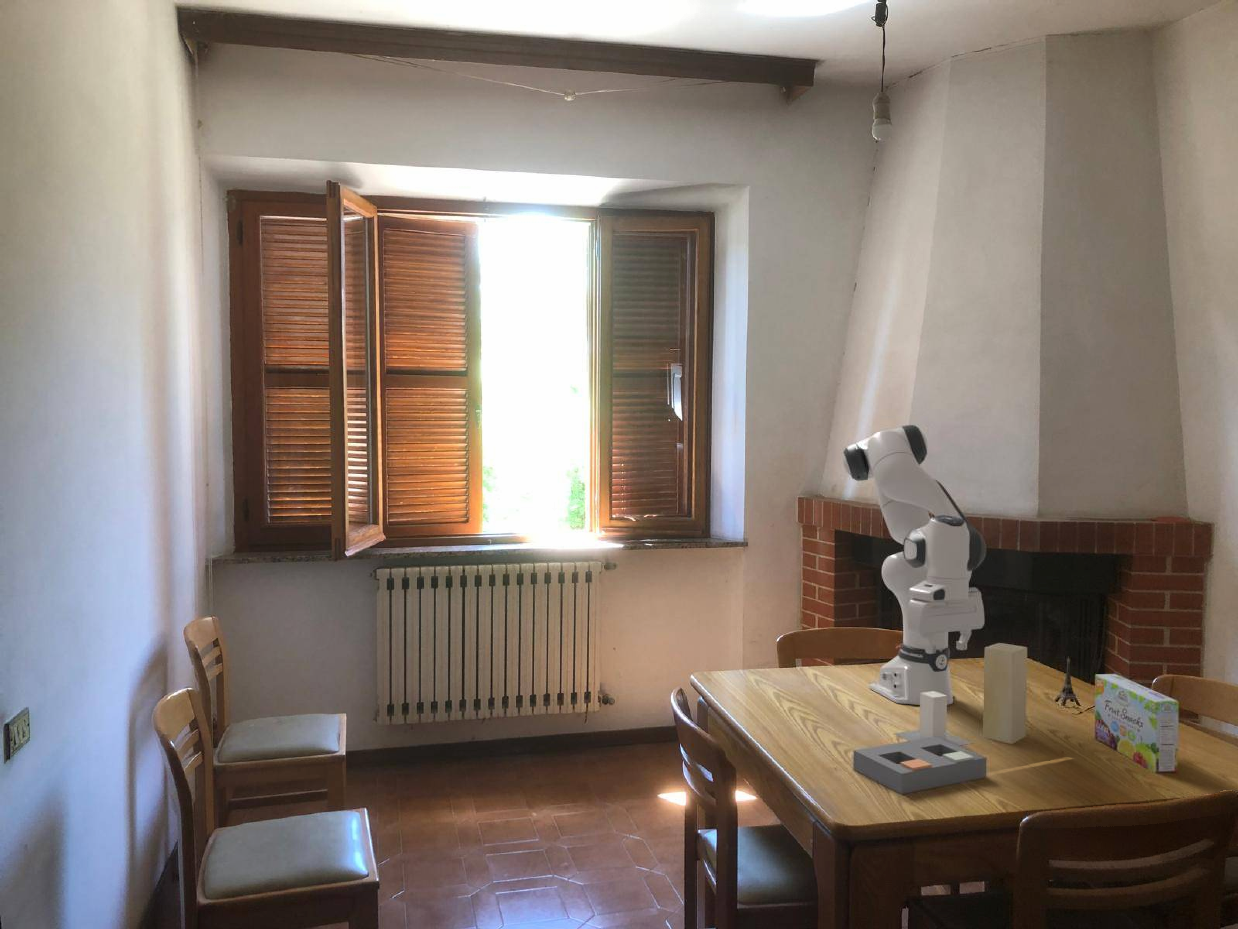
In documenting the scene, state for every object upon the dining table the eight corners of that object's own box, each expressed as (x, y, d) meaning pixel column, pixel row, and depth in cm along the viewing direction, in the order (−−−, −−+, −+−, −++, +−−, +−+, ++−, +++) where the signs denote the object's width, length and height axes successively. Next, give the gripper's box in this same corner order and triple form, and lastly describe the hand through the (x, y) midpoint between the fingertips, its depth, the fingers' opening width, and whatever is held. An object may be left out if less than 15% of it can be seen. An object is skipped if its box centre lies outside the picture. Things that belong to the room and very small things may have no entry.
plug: (919, 736, 206) (920, 693, 206) (932, 734, 208) (933, 691, 207) (932, 742, 202) (933, 697, 202) (946, 740, 204) (947, 695, 204)
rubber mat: (893, 736, 208) (893, 733, 208) (933, 729, 213) (933, 727, 213) (931, 753, 197) (931, 750, 197) (973, 746, 202) (973, 743, 202)
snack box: (1091, 739, 208) (1093, 673, 207) (1115, 738, 208) (1117, 673, 208) (1153, 773, 187) (1156, 700, 186) (1179, 773, 187) (1182, 700, 187)
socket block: (853, 769, 187) (853, 747, 187) (935, 754, 196) (935, 734, 196) (901, 794, 174) (901, 771, 174) (986, 777, 183) (986, 755, 183)
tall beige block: (993, 731, 213) (996, 641, 212) (1025, 738, 207) (1028, 647, 207) (978, 738, 207) (981, 646, 206) (1011, 746, 202) (1014, 652, 201)
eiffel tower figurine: (1077, 717, 225) (1079, 664, 225) (1036, 708, 233) (1037, 656, 232) (1101, 705, 235) (1102, 654, 235) (1060, 697, 243) (1062, 647, 242)
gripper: (969, 584, 210) (968, 644, 210) (903, 590, 201) (901, 652, 201) (992, 588, 205) (990, 650, 205) (924, 594, 195) (923, 658, 195)
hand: (946, 651), depth 203 cm, fingers open, 8 cm apart
